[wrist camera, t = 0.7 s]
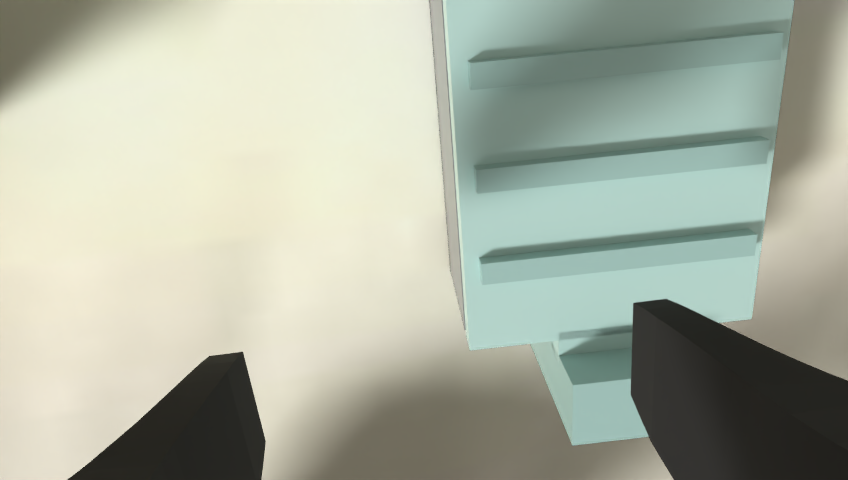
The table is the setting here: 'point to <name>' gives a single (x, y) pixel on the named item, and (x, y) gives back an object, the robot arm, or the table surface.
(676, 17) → the teal ridged block
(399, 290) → the table surface
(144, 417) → the robot arm
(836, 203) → the table surface
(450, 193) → the tub
